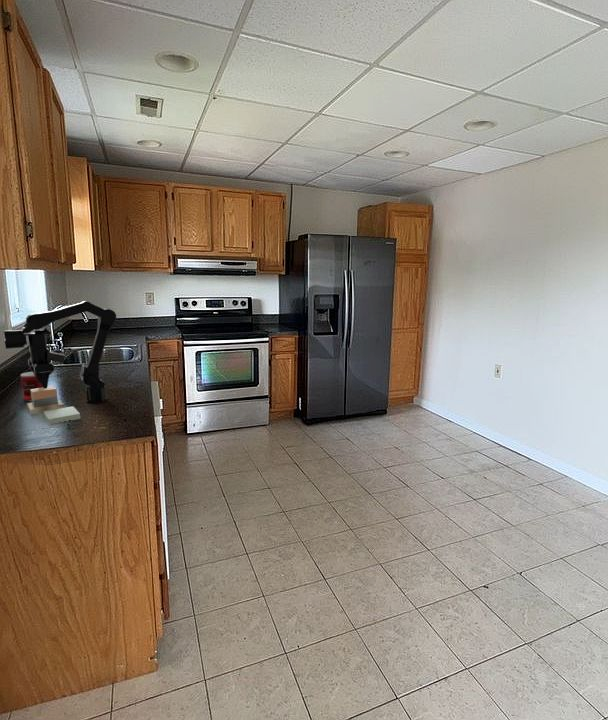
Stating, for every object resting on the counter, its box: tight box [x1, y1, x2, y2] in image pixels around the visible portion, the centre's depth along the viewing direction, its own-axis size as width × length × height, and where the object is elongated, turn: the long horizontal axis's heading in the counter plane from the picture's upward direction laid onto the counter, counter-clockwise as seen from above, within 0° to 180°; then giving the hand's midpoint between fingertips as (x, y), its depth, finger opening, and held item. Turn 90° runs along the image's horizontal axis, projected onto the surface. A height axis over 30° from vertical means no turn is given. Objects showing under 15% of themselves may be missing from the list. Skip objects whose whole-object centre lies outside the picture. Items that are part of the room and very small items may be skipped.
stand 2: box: [42, 406, 81, 425], centre depth 155 cm, size 11×10×2 cm
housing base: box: [31, 395, 58, 408], centre depth 164 cm, size 8×6×3 cm
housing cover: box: [30, 385, 58, 400], centre depth 163 cm, size 8×6×3 cm
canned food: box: [20, 371, 43, 401], centre depth 176 cm, size 8×8×11 cm
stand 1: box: [26, 397, 65, 415], centre depth 164 cm, size 11×10×2 cm
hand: (43, 385), depth 163 cm, fingers open, 9 cm apart
